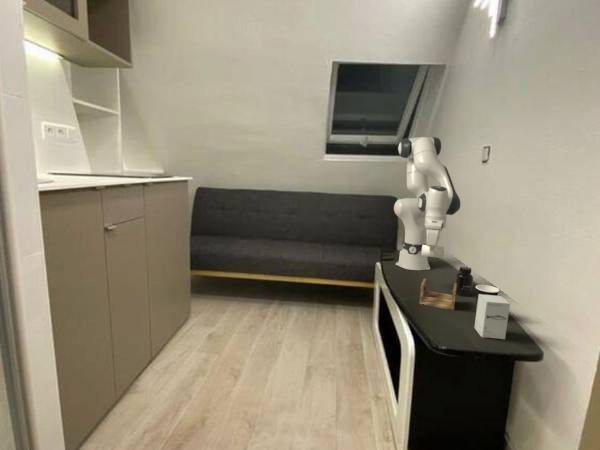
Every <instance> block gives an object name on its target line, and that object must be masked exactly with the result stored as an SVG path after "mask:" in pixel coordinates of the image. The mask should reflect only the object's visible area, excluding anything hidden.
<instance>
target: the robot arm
mask: <svg viewBox="0 0 600 450" xmlns="http://www.w3.org/2000/svg"><path fill="white" fill-rule="evenodd" d="M397 150H398V154H399V156H400V157H401V158H403V159H407V163H406V188H407V190H408V191H409V192H411V193H413V194H414V195H415V196H416V198H415V197H413V198H412V197H406V198H405V197H404V198H399V199H397V200H396V201H395V203H394V205H393V211H394V214H395V215H396V216H397V217H398V218H399V219H400V220H401V221H402V224H403V226H404V241H403V244H402V249H401V250H400V251H399V258H398V261H397V262H395V266H399V267H400V268H403V269H405V270H410V271H425V270H428V271H429V270H431V267H430V266H431V265H430V264H429V261H428V256H422V255H421V251H422V245H427V246H429V247H430V255H434V249H435V247H436V246H437V244H438V243H439V240H440V236H441V232H442V231H443V229H445V228H446V227H447V217H448V216H447V215H449V216H453V215H455V214H456V213H457V212H458V211H459V210H460V208H461V199H460V196H459V195H458V193H457V192H456V189H455V186H454V184H453V181H452V179H451V176H450V173H449V170H448V169H447V166H445V165H444V164H443V163H442V162H441V161H440V160H439V159H438V156H439V155H440V154H441V150H442V141H441V139H440V138H439V137H437V136H436V137H435V136H432V137H431V136H430V137H429V136H420V137H418V136H417V137H409V138H407V137H406V138H402V139H401V140H400V141H399V144H398V147H397ZM428 177H430V178H432V179H434V180H437V182H439V184H440V185H434V186H433V185H432V186H429V183H428V182H429V181H428ZM418 219H424V225H421V224H419V223H418ZM424 226H425V227H424Z"/></svg>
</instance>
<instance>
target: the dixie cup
mask: <svg viewBox="0 0 600 450" xmlns="http://www.w3.org/2000/svg"><path fill="white" fill-rule="evenodd" d="M475 289H476V290H475V291H476V293H475V295H476V298H475V299H476V300H475V302H476V305H475V306H476V308H475V309H476V310H475V311H477V303H478V295H479V294H483V295H494V296H499V292H500V289H499V288H498V287H495V286H492V285H487V284H477V285H476V286H475Z"/></svg>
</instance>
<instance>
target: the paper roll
mask: <svg viewBox="0 0 600 450" xmlns="http://www.w3.org/2000/svg"><path fill="white" fill-rule="evenodd" d="M444 252H445V246H437V245H436V247H435V249H434V255H430V247H429V246H427V244H426V245H422V251H421V255H422V256H427V257H429V258H431V257H432V258H437V259H443V258H444Z"/></svg>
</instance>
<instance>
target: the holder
mask: <svg viewBox="0 0 600 450" xmlns="http://www.w3.org/2000/svg"><path fill="white" fill-rule="evenodd" d="M456 287H457V283H455V282H454V283H453V289H452V290H451V294H448V293H441V292H436V291H431V290H430V291H429V290H427V278H423V280H422V281H421V285H420V291H419V292H420V293H419V303H418V304H419V305H423V304H424V306H430V307H435V308H440V309H445V310H451V311H455V304H456V303H455V302H456V295H457V294H456Z"/></svg>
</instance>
